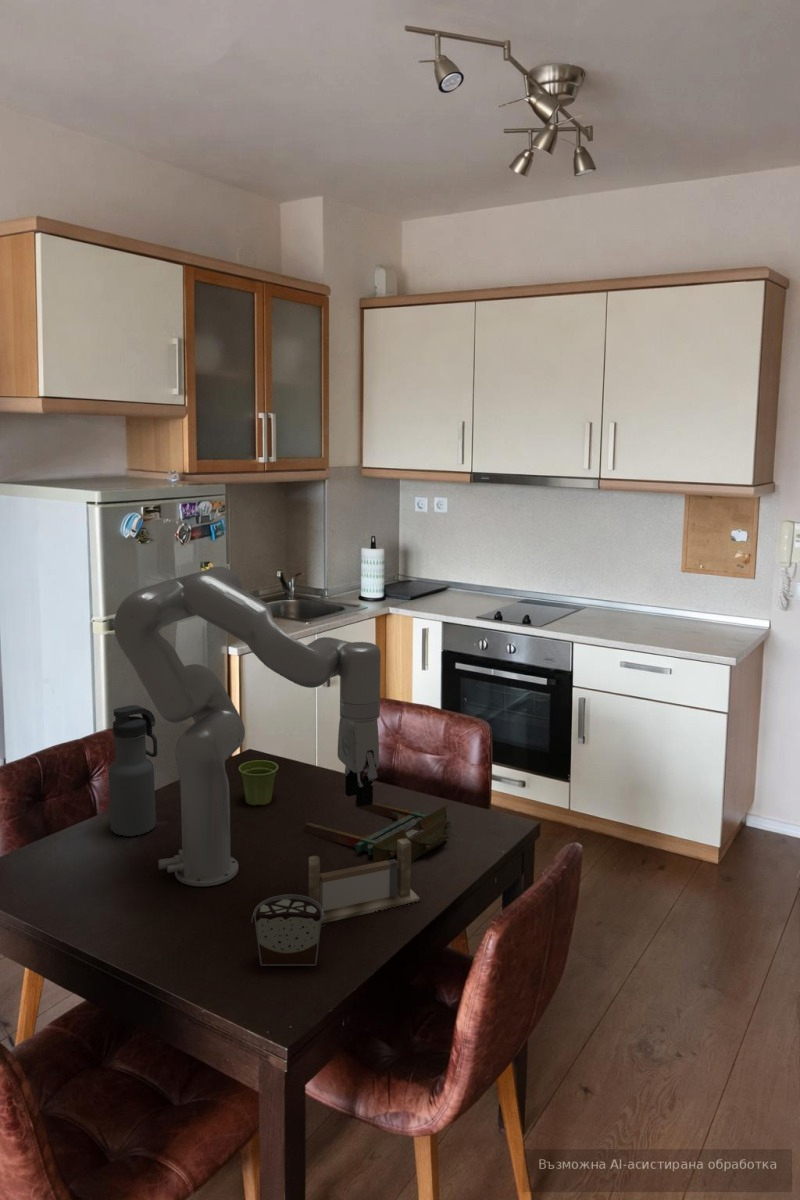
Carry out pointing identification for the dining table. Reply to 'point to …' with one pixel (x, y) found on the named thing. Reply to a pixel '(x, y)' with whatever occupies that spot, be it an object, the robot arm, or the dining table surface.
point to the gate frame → (402, 897)
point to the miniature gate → (392, 832)
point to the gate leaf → (358, 884)
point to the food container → (288, 930)
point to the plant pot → (258, 781)
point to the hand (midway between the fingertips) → (358, 798)
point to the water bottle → (132, 773)
